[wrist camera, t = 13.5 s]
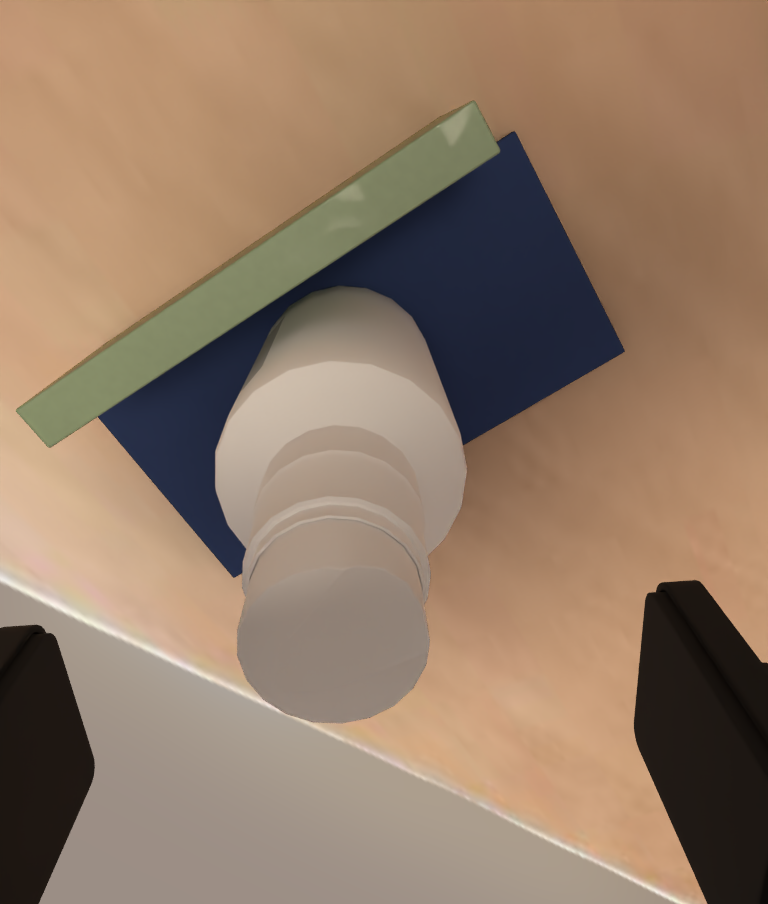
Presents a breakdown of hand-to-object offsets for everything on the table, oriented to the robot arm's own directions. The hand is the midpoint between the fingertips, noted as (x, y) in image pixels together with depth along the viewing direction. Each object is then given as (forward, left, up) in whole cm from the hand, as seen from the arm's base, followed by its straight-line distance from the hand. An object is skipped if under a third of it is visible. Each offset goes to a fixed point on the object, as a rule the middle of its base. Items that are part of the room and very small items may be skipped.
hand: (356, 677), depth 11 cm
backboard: (+3, -4, -20) cm, 20 cm away
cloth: (0, +1, -20) cm, 20 cm away
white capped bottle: (0, 0, -19) cm, 19 cm away
